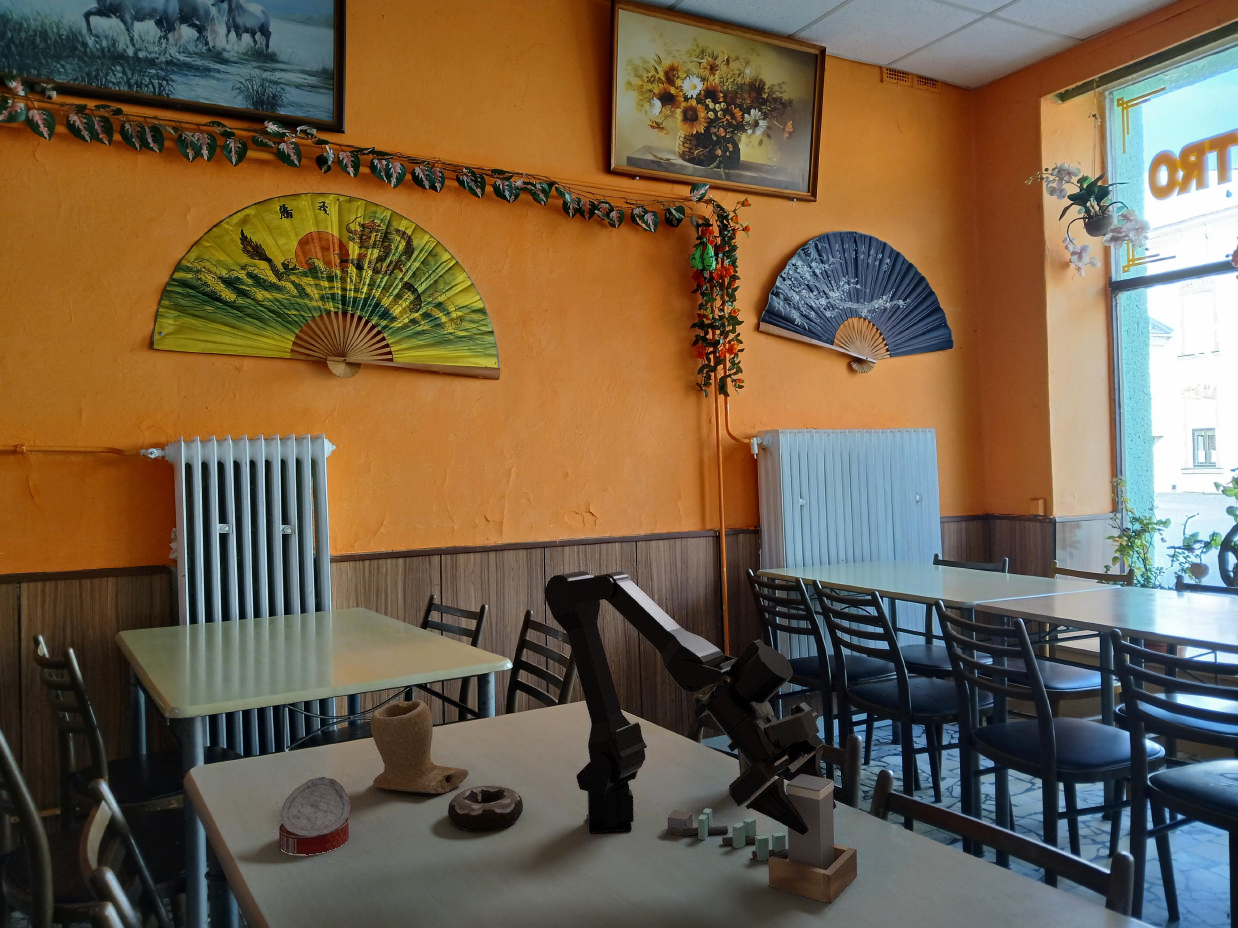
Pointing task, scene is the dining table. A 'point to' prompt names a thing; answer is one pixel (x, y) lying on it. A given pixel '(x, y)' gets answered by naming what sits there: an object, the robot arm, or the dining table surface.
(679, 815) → the brown grey short block
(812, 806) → the tall grey box
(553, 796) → the dining table surface
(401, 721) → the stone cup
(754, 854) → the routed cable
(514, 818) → the donut
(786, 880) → the end holder
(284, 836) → the canned food
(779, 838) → the cable clips
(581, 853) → the dining table surface
